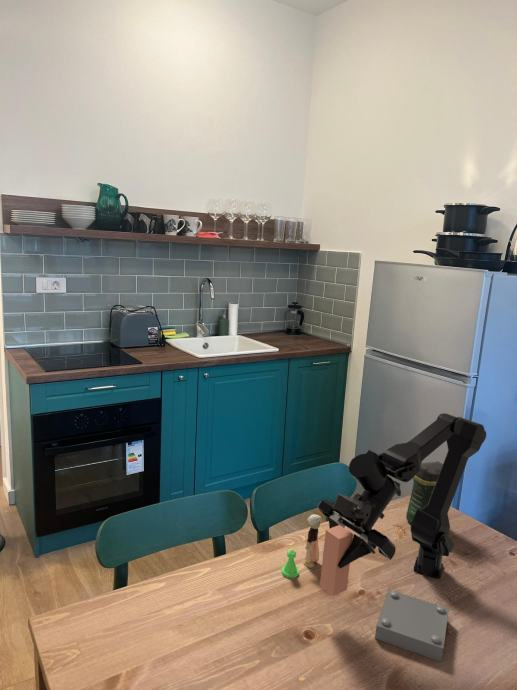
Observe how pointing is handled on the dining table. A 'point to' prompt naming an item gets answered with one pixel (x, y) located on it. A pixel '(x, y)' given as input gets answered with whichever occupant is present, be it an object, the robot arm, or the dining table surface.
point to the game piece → (290, 566)
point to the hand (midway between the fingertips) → (331, 561)
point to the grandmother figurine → (312, 541)
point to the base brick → (413, 624)
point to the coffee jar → (423, 487)
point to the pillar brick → (335, 560)
